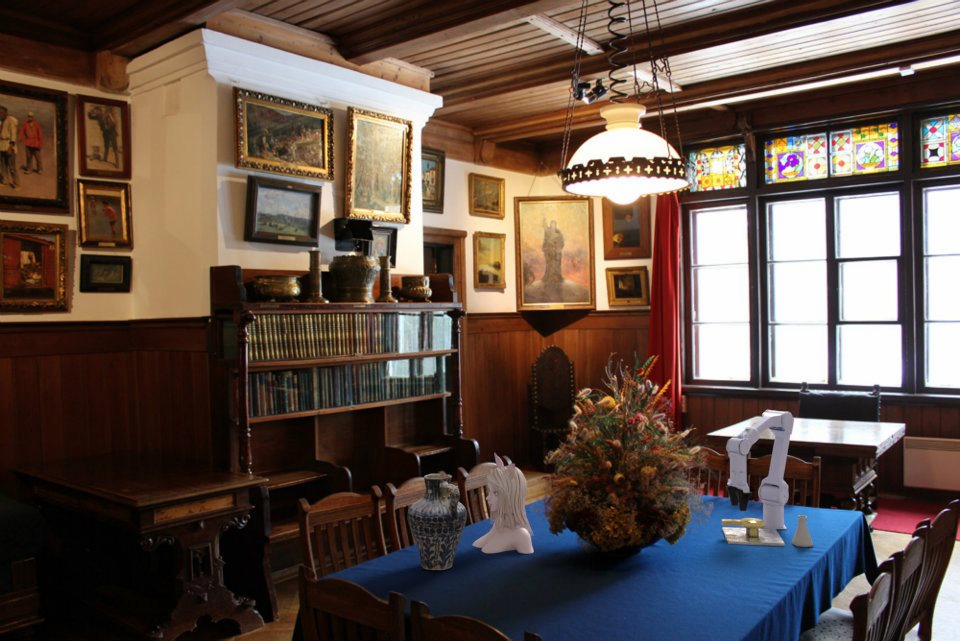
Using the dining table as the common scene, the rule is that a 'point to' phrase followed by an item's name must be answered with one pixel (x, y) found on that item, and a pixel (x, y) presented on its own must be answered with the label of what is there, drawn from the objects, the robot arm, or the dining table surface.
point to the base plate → (744, 538)
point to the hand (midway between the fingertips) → (738, 508)
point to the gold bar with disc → (746, 524)
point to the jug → (437, 522)
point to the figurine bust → (506, 511)
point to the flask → (802, 533)
